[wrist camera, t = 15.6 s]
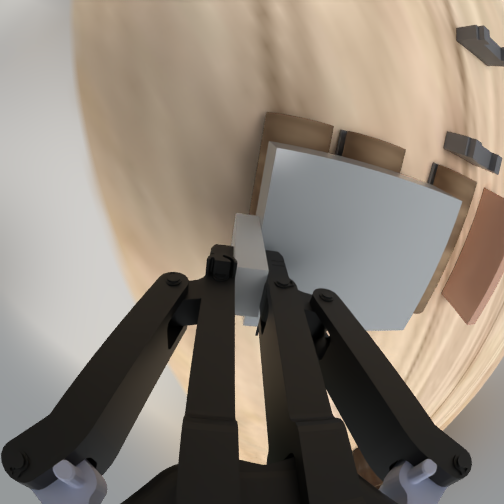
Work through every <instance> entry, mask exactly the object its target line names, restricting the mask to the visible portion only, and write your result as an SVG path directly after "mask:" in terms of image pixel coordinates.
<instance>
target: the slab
mask: <svg viewBox="0 0 504 504" xmlns="http://www.w3.org/2000/svg"><path fill="white" fill-rule="evenodd" d="M461 204H462V201H461V200H459V199H458V198H456V197H454V196H452V195H450V194H449V193H447V192H445V191H443V190H441V189H439V188H437V187H436V186H434V185H431V184H429V183H426V182H423V181H421V180H418V179H415V178H412V177H409V176H406V175H403V174H401V173H397V172H394V171H391V170H388V169H385V168H382V167H378V166H375V165H372V164H368V163H365V162H361V161H358V160H354V159H350V158H346V157H343V156H339V155H335V154H330V153H326V152H322V151H318V150H313V149H309V148H304V147H299V146H294V145H289V144H283V143H278V142H272V141H269V143H268V149H267V155H266V160H265V166H264V171H263V177H262V183H261V188H260V194H259V200H258V205H257V211H256V216H259V221H260V226H261V231H262V236H263V242H264V247H265V250H270V251H278V252H279V253H280V254H281V255H282V256H283V258H284V263H285V265H286V269H287V272H288V276H289V278H290V279H291V280H293V281H294V282H295V284H296V285H297V288H298V290H300V291H302V292H305V293H308V294H313V291H314V290H315V289H318V288H325V289H329V290H331V291H333V292H335V293H336V294H337V295H338V296H339V297H340V299H341V300H342V301H343V302H344V304H345V305H346V306H347V307H348V309H349V310H350V311H351V312H352V314H353V315H354V316H355V318H356V319H357V320H358V321H359V323H360V324H361V325H362V326H363V328H364V329H365V330H366V331H385V330H403V329H404V328H405V326H406V324H407V323H408V321H409V319H410V318H411V316H412V314H413V312H414V311H415V309H416V307H417V305H418V303H419V302H420V300H421V298H422V296H423V294H424V292H425V290H426V288H427V286H428V284H429V282H430V280H431V278H432V276H433V274H434V272H435V270H436V268H437V265H438V263H439V261H440V259H441V256H442V254H443V252H444V249H445V247H446V245H447V242H448V240H449V237H450V235H451V232H452V229H453V227H454V224H455V221H456V219H457V216H458V213H459V210H460V207H461ZM259 319H260V309H259V314H258V317H250V316H243V325H246V326H258V323H259Z"/></svg>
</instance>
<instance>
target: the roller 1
mask: <svg viewBox="0 0 504 504" xmlns="http://www.w3.org/2000/svg"><path fill="white" fill-rule="evenodd" d="M333 128H334V126H332V125H329V124H325V123H322V122H318V121H314V120H310V119H305V118H301V117H296V116H291V115H285V114H279V113H271V112H267V113H266V119H265V124H264V130H263V136H262V141H261V147H260V153H259V159H258V165H257V171H256V176H255V182H254V188H253V194H252V200H251V206H250V212H249V215H255V216H256V211H257V205H258V200H259V194H260V188H261V183H262V177H263V171H264V166H265V160H266V155H267V149H268V143H269V141H272V142H278V143H283V144H289V145H294V146H299V147H304V148H309V149H313V150H318V151H322V152H326V153H328V152H329V147H330V143H331V138H332V133H333Z"/></svg>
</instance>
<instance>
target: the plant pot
mask: <svg viewBox="0 0 504 504" xmlns="http://www.w3.org/2000/svg"><path fill="white" fill-rule="evenodd" d="M353 458H354V462H355V466H356V470H357V473H358V474H359V475H360V476H361V477H363V478H364V479H365V480H367V481H368V482H369V483H370V484H372V485H373V486H374V487H376V488H377V489H379V488H380V486H381V485H382V484H383V481H382V480H381V479H380V478H379V477H378V476H377V475H376V474H375V473H374V472H373V470H372V469H371V468H370V466H369V465H368V463H367V462H366V460H365V458H364V457H363V455H362V453H361V451H360V449H359V448H357V449H355V450H354V453H353Z"/></svg>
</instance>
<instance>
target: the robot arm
mask: <svg viewBox="0 0 504 504" xmlns="http://www.w3.org/2000/svg"><path fill="white" fill-rule="evenodd" d="M259 309H260V319H259V323H258V326H257V330H256V336H258V332H259V340H260V351H261V363H262V374H263V386H264V398H265V409H266V421H267V432H268V444H269V452H268V457H267V465H261V464H256V463H251V462H247V461H243V460H239V445H238V424H237V421H236V419H235V315H240V316H250V317H258V314H259ZM195 324H197V329H196V336H195V343H194V349H193V356H192V363H191V371H190V378H189V386H188V394H187V402H186V411H185V416H184V418H183V424H182V432H181V442H180V452H179V463H178V464H177V465H173V466H171V467H169V468H167V469H165V470H163V471H162V472H160V473H159V474H158V475H156V476H155V477H154V478H153V479H152V480H150V481H149V482H148V483H147V484H146V485H144V486H143V487H142V488H140V489H139V490H138V491H137V492H135V493H134V494H133V495H131V496H130V497H129V498H128V499H126V500H125V501H123V502H122V503H121V504H437V503H438V501H439V500H440V498H441V496H442V495H443V493H444V491H445V490H446V488H447V487H448V486H450V485H451V484H453V483H455V482H457V481H458V480H460V479H462V478H464V477H465V476H467V475H468V473H469V472H470V470H471V465H472V461H471V457H470V454H469V453H468V452H467V450H466V449H464V448H463V447H462V446H460V445H459V444H458V443H457V442H455V441H454V440H453V439H452V438H450V437H449V436H448V435H447V434H445V433H444V432H443V431H442V430H440V429H439V428H438V427H437V426H435V424H434V423H433V422H432V420H431V419H430V417H429V416H428V414H427V413H426V411H425V410H424V409H423V407H422V406H421V404H420V403H419V401H418V400H417V399H416V397H415V396H414V394H413V393H412V392H411V390H410V389H409V388H408V386H407V385H406V383H405V382H404V381H403V379H402V378H401V377H400V375H399V374H398V372H397V371H396V370H395V368H394V367H393V366H392V364H391V363H390V362H389V360H388V359H387V358H386V356H385V355H384V354H383V352H382V351H381V350H380V348H379V347H378V346H377V345H376V343H375V342H374V341H373V339H372V338H371V337H370V335H369V334H368V333H367V332H366V330H365V329H364V328H363V326H362V325H361V324H360V323H359V321H358V320H357V319H356V318H355V316H354V315H353V314H352V312H351V311H350V310H349V309H348V307H347V306H346V305H345V304H344V302H343V301H342V300H341V299H340V297H339V296H338V295H337V294H336V293H335V292H333V291H331V290H329V289H325V288H318V289H315V290H314V291H313V294H308V293H305V292H302V291H300V290H298V288H297V285H296V284H295V282H294V281H293V280H291V279H290V278H289V276H288V272H287V269H286V265H285V263H284V258H283V256H282V255H281V254H280V253H279V252H278V251H270V250H265V247H264V242H263V236H262V231H261V226H260V221H259V216H255V215H248V214H241V213H236V217H235V223H234V230H233V236H232V243H231V246H226V245H218V244H216V245H214V246H213V247H212V248H211V253H210V256H209V257H208V258H207V264H206V275H205V276H204V277H203V278H201V279H199V280H194V281H189V280H188V278H187V277H186V276H185V275H183V274H181V273H177V272H168V273H165V274H163V275H161V276H160V277H159V278H158V279H157V280H156V282H155V283H154V284H153V285H152V286H151V287H150V288H149V290H148V291H147V292H146V293H145V294H144V295H143V296H142V298H141V299H140V300H139V301H138V302H137V303H136V305H135V306H134V307H133V308H132V309H131V311H130V312H129V313H128V314H127V315H126V316H125V318H124V319H123V320H122V321H121V322H120V324H119V325H118V326H117V327H116V328H115V330H114V331H113V332H112V333H111V334H110V336H109V337H108V338H107V340H106V341H105V342H104V343H103V344H102V346H101V347H100V348H99V350H98V351H97V352H96V353H95V354H94V356H93V357H92V358H91V360H90V361H89V362H88V363H87V365H86V366H85V367H84V369H83V370H82V371H81V372H80V374H79V375H78V377H77V378H76V379H75V381H74V382H73V383H72V385H71V386H70V387H69V388H68V390H67V391H66V393H65V394H64V395H63V397H62V398H61V399H60V401H59V402H58V404H57V405H56V406H55V408H54V409H53V411H52V412H51V413H50V415H48V416H47V417H45V418H44V419H42V420H41V421H39V422H38V423H36V424H35V425H33V426H32V427H30V428H29V429H27V430H26V431H24V432H23V433H21V434H20V435H18V436H17V437H15V438H14V439H12V440H11V441H9V442H8V443H7V444H6V445H5V446H4V447H3V450H2V453H1V459H2V464H3V467H4V469H5V471H6V472H7V473H8V475H9V476H10V477H11V478H13V479H14V480H16V481H17V482H19V483H21V484H23V485H25V486H27V487H29V488H30V489H31V490H32V491H33V492H34V493H35V495H36V496H37V497H38V499H39V500H40V501H41V503H42V504H101V502H102V501H103V499H104V497H105V496H106V493H107V484H106V482H105V480H104V478H103V477H102V475H103V474H104V473H105V472H106V471H107V469H108V468H109V467H110V466H111V464H112V463H113V461H114V460H115V458H116V456H117V455H118V453H119V451H120V449H121V447H122V445H123V444H124V442H125V440H126V438H127V436H128V434H129V432H130V430H131V429H132V427H133V425H134V423H135V421H136V419H137V417H138V415H139V414H140V412H141V410H142V408H143V406H144V404H145V403H146V401H147V399H148V397H149V395H150V393H151V392H152V390H153V388H154V386H155V384H156V383H157V381H158V379H159V377H160V375H161V374H162V372H163V370H164V368H165V366H166V365H167V363H168V361H169V359H170V357H171V356H172V354H173V352H174V350H175V348H176V347H177V345H178V343H179V341H180V340H181V338H182V336H183V334H184V333H185V331H186V329H187V325H195ZM326 331H328V332H329V334H330V336H328V334H327V333H326ZM326 390H327V391H328V393H329V395H330V397H331V399H332V400H333V402H334V404H335V406H336V408H337V409H338V411H339V413H340V415H341V417H342V419H343V420H344V422H345V424H346V426H347V428H348V429H349V431H350V433H351V435H352V437H353V438H354V440H355V442H356V444H357V446H358V447H359V449H360V451H361V453H362V455H363V457H364V458H365V460H366V462H367V463H368V465H369V466H370V468H371V469H372V470H373V472H374V473H375V474H376V475H377V476H378V477H379V478H380V479H381V480H382V481H383V484H382V485H381V486H380V488H379V490H378V489H377V488H376V487H374V486H373V485H372V484H370V483H369V482H368V481H367V480H365V479H364V478H363V477H361V476H360V475H359V474H358V473H357V470H356V466H355V462H354V458H353V454H352V450H351V446H350V442H349V438H348V434H347V430H346V427H345V424H344V422H343V421H342V420H341V419H339V418H335V417H334V416H333V414H332V411H331V407H330V403H329V399H328V395H327V391H326Z"/></svg>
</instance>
